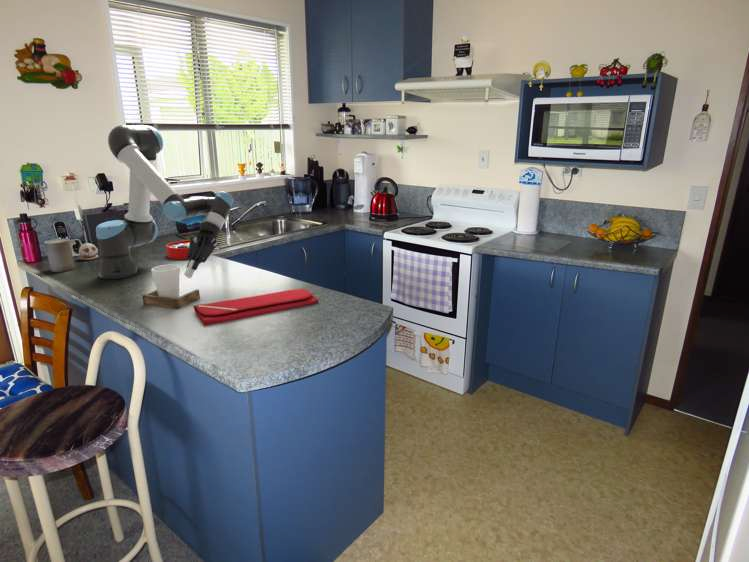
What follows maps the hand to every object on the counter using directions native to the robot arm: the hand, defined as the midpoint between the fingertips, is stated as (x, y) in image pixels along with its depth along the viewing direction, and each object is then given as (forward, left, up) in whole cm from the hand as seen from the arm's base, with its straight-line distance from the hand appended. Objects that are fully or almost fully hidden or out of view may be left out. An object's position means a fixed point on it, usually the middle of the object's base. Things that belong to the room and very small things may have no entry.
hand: (187, 276), depth 185 cm
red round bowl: (-45, +52, -8) cm, 69 cm away
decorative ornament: (-87, +28, -7) cm, 92 cm away
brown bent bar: (0, -9, -7) cm, 11 cm away
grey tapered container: (-81, +9, -7) cm, 82 cm away
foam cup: (-1, -9, -7) cm, 12 cm away
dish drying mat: (+34, -4, -8) cm, 35 cm away
